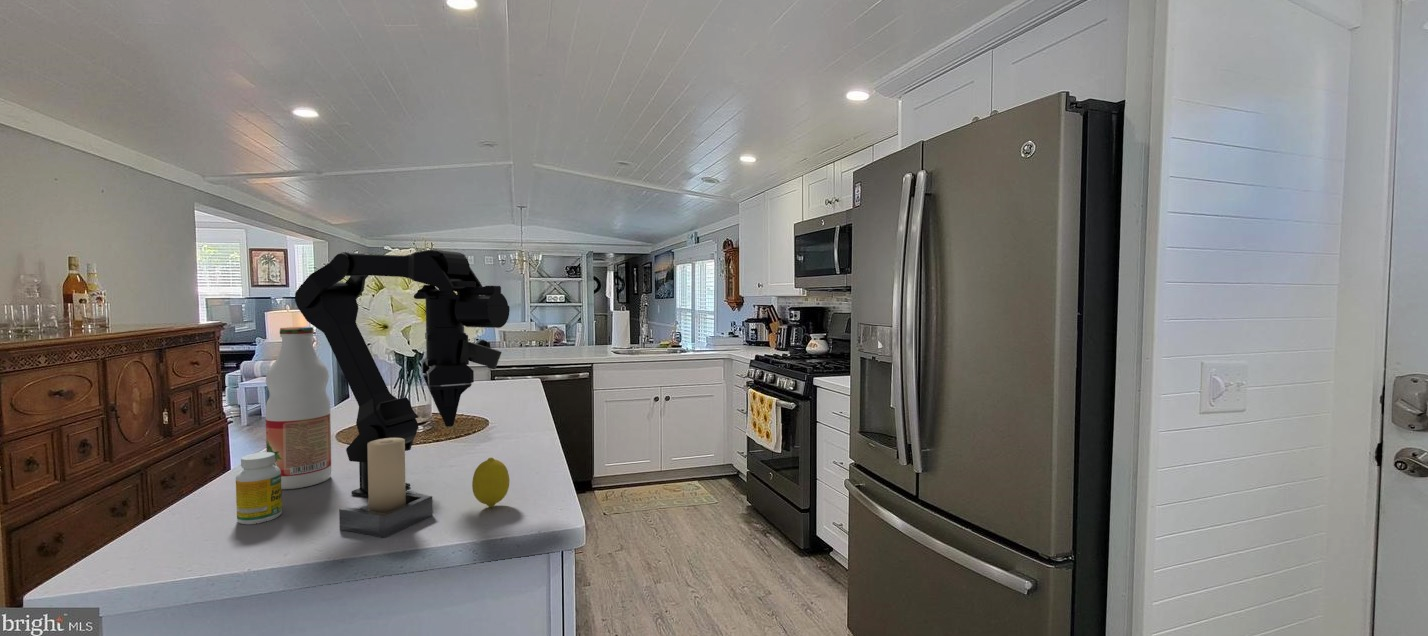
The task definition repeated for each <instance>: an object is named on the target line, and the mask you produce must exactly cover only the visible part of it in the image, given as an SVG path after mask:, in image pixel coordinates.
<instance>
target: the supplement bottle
mask: <svg viewBox="0 0 1428 636" xmlns="http://www.w3.org/2000/svg"><path fill="white" fill-rule="evenodd" d="M274 463H275V453H272V452H267V451H266V452H265V451H264V452H263V451H262V452H255V453H251V454H246V455H244V456H242V457H241V459H240V467H241V468H242V470H240V471H239V472H237V474H236V476H235V499H236V501H235V502H236V522H238V523H239V524H241V525H256V523H257V524H261V523H266V521H267V522H270V521H272V520H274V519H276V518H278V517H279V516H280V515H281V514H282V512H283V505H282V504H283V501H282V499H283V497H282V489H281V470H280V468H279V467H277V466H274V465H273V464H274Z"/></svg>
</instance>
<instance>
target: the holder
mask: <svg viewBox="0 0 1428 636" xmlns="http://www.w3.org/2000/svg"><path fill="white" fill-rule="evenodd" d="M433 510H434V509H433V496H432V495H428V494H420V493H412V492H406V505H403V506H401V507H398V508H396V509H394V510H391V511H389V512H386V513H382V512H376V511H370V510H369V509H362V508H357V507H350V506H344V507H341V508H339V510H338V511H339V513H338V516H339V517H338V519H339V520H338V521H339V523H338V524H339V530H340V531H344V532H345V531H346V532H351V533H357V534H363V535H367V536H373V537H374V536H375V537H378V538H384V539H385V538H387V537H390V536H392V535H395V534H397V533H398V532H400V531H402V530H404V529H406V528H409V527H411V526H413V525H415V524H417V523H420V522H421V521H424V520H426V519H428V518H430V517H432V516H433V515H434V514H433Z"/></svg>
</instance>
